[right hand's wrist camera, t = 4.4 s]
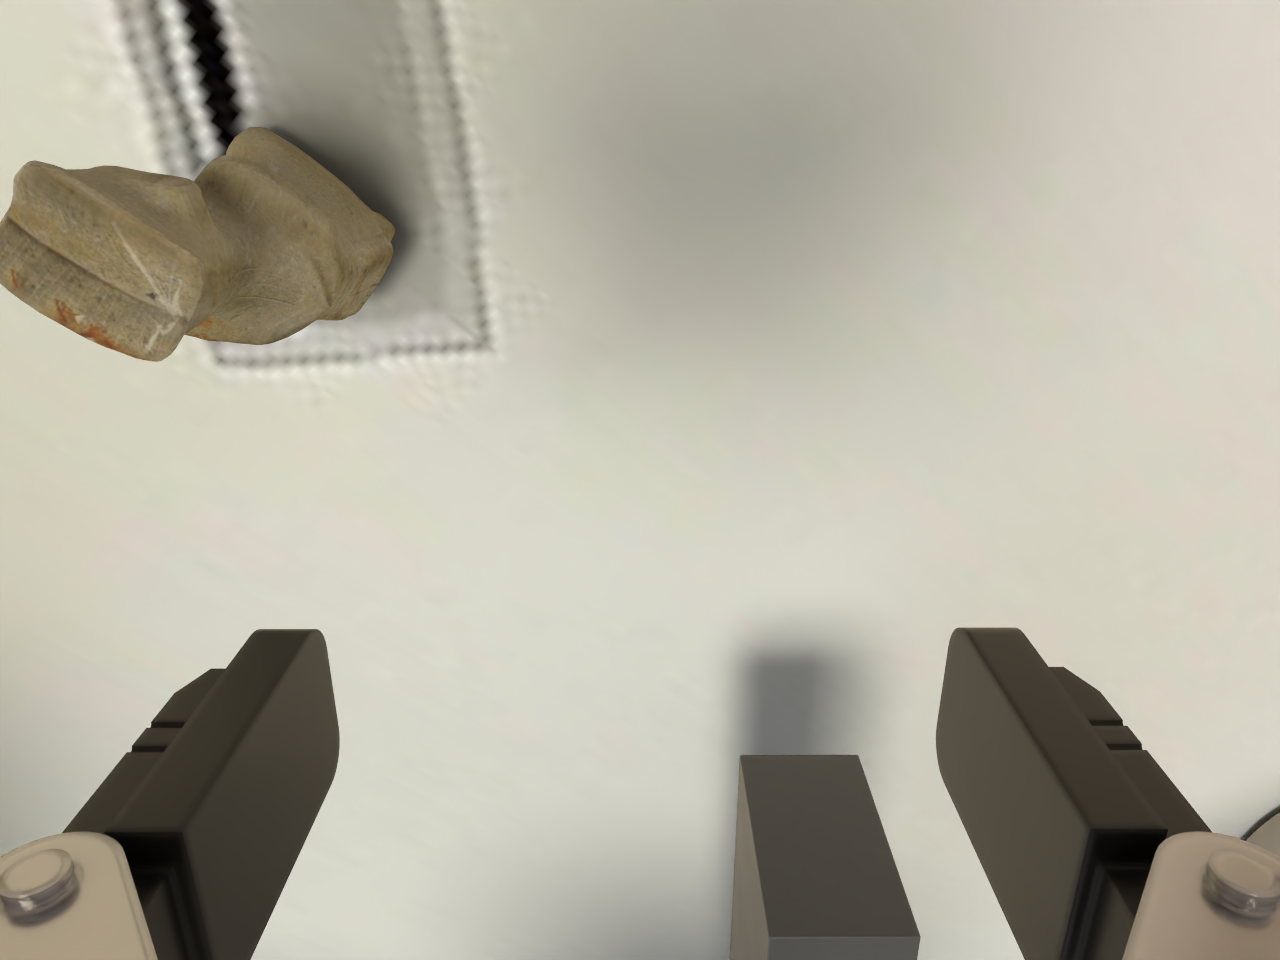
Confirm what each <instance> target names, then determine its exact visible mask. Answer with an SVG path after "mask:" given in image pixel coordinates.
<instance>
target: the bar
mask: <svg viewBox="0 0 1280 960" xmlns="http://www.w3.org/2000/svg"><path fill="white" fill-rule="evenodd" d="M919 942H920V934H919V931H918V928H917V926H916V923H915V920H914V917H913V914H912V911H911V908H910V905H909V902H908V899H907V896H906V893H905V891H904V888H903V885H902V882H901V879H900V876H899V873H898V870H897V867H896V864H895V861H894V859H893V856H892V853H891V850H890V847H889V844H888V841H887V838H886V835H885V832H884V829H883V826H882V824H881V821H880V818H879V815H878V812H877V809H876V806H875V803H874V800H873V797H872V794H871V791H870V789H869V786H868V783H867V780H866V777H865V774H864V771H863V768H862V765H861V762H860V759H859V756H858V755H740V765H739V785H738V805H737V825H736V845H735V864H734V884H733V904H732V924H731V944H730V960H917V955H918V949H919Z"/></svg>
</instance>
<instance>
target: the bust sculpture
mask: <svg viewBox="0 0 1280 960" xmlns="http://www.w3.org/2000/svg"><path fill="white" fill-rule="evenodd" d="M1246 841H1247V842H1250V843H1252V844H1254V845H1257V846H1259V847H1261V848H1264V849H1266V850H1267V851H1269V852H1271V853H1273V854H1275V855H1277V856H1279V857H1280V813H1278V814H1277V815H1275V816H1274V817H1272V818H1271V819H1269V820H1268V821H1267V822H1266V823H1264V824H1263V825H1262V826H1261V827H1259V828H1258V829H1257V830H1256V831H1255V832H1254V833H1253V834H1252V835H1251V836H1250V837H1249V838H1248V839H1247V840H1246Z"/></svg>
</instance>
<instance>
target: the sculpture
mask: <svg viewBox="0 0 1280 960" xmlns="http://www.w3.org/2000/svg"><path fill="white" fill-rule="evenodd" d="M394 234H395V228H394V226H393V225H392V224H391V223H390V222H389V221H388V220H387V219H386V218H385V217H384V216H382V215H381V214H379V213H376V212H373V211H372V210H371V209H370V208H369V207H367V206H366V205H365V204H364V203H363V202H362V201H361V200H360V199H359V198H358V197H357V196H356V195H355V194H354V193H353V192H352V190H351V189H350V188H349V187H348V186H346V185H345V184H344V183H343V182H342V181H340V180H339V179H338V178H337V177H335V176H334V175H333V174H332V173H330V172H329V171H328V170H327V169H325V168H324V167H323V166H321V165H320V164H319V163H318V162H316V161H315V160H314V159H312V158H311V157H310V156H309V155H307V154H306V153H304V152H303V151H302V150H300V149H299V148H298V147H296V146H294V145H293V144H291V143H290V142H288V141H286V140H285V139H283V138H281V137H280V136H278V135H277V134H275V133H273V132H271V131H270V130H268V129H266V128H262V127H250V128H248V129H246V130H244V131H242V132H241V133H240V134H238V135H237V136H236V137H235V138H234V140H233V141H232V142H231V144H230V145H229V147H228V150H227V152H226V155H223V156H220V157H218V158H216V159H214V160H213V161H212V162H211V163H209V164H208V165H207V166H206V167H205V168H204V169H203V171H202V172H201V173H200V174H199V176H198V177H197V178H196V179H195V181H191V180H189V179H187V178H182V177H176V176H170V175H163V174H156V173H149V172H143V171H138V170H133V169H128V168H123V167H118V166H99V167H94V168H91V169H82V170H65V169H63V168H60V167H58V166H55V165H51V164H47V163H43V162H39V161H30V162H28V163H26V164H25V165H24V166H23V167H22V168H21V169H20V170H19V172H18V173H17V174H16V175H15V178H14V187H13V198H12V202H11V206H10V208H9V209H8V211H7V213H6V214H5V216H4V217H3V219H2V221H1V222H0V284H2V285H3V286H4V287H5V288H6V289H7V290H9V291H10V292H11V293H12V294H14V295H15V296H17V297H18V298H19V299H21V300H22V301H23V302H25V303H26V304H28V305H29V306H31V307H32V308H34V309H35V310H37V311H38V312H40V313H41V314H43V315H45V316H47V317H49V318H50V319H52V320H54V321H56V322H58V323H59V324H61V325H63V326H65V327H67V328H68V329H70V330H72V331H74V332H75V333H77V334H79V335H81V336H83V337H85V338H87V339H88V340H91V341H93V342H95V343H97V344H100V345H102V346H104V347H107V348H110V349H113V350H116V351H118V352H121V353H124V354H126V355H129V356H132V357H134V358H138V359H143V360H148V361H156V362H157V361H162V360H163V359H165V358H166V357H168V356H169V355H171V353H172V352H173V351H174V350H175V349H176V347H177V345H178V343H179V342H180V340H181V339H182V337H183V335H188V336H193V337H197V338H200V339H204V340H208V341H224V342H233V343H242V344H254V345H263V344H270V343H273V342H276V341H279V340H281V339H284V338H287V337H289V336H291V335H293V334H294V333H296V332H298V331H300V330H302V329H303V328H305V327H306V326H308V325H309V324H311V323H312V322H314V321H315V320H342V319H345V318H347V317H348V316H351V315H354V314H356V313H357V312H358V311H359V310H360V309H361V307H362V306H363V305H364V304H365V302H366V301H367V300H368V298H369V297H370V295H371V294H372V293H373V291H374V290H375V288H376V287H377V285H378V283H379V282H380V280H381V279H382V277H383V275H384V273H385V271H386V270H387V268H388V266H389V264H390V262H391V259H392V256H393V246H392V244H391V240H392V238H393V236H394Z"/></svg>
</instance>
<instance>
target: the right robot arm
mask: <svg viewBox="0 0 1280 960" xmlns="http://www.w3.org/2000/svg"><path fill="white" fill-rule="evenodd" d="M936 749H937V758H938V764H939V768H940V772H941V776H942V778H943V781H944V783H945V786H946V788H947V790H948V792H949V794H950V796H951V799H952V801H953V803H954V805H955V807H956V810H957V812H958V814H959V816H960V818H961V821H962V823H963V825H964V827H965V829H966V832H967V834H968V836H969V838H970V840H971V843H972V845H973V847H974V849H975V851H976V853H977V856H978V858H979V860H980V862H981V864H982V867H983V869H984V871H985V873H986V875H987V878H988V880H989V882H990V884H991V886H992V889H993V891H994V893H995V895H996V897H997V900H998V902H999V904H1000V906H1001V908H1002V910H1003V913H1004V915H1005V917H1006V919H1007V921H1008V924H1009V926H1010V928H1011V930H1012V932H1013V935H1014V937H1015V939H1016V941H1017V943H1018V946H1019V948H1020V950H1021V952H1022V954H1023V957H1024V959H1025V960H1280V857H1279V856H1277V855H1275V854H1273V853H1271V852H1269V851H1267V850H1266V849H1264V848H1261V847H1259V846H1257V845H1254V844H1252V843H1250V842H1247V841H1244V840H1241V839H1238V838H1235V837H1231V836H1227V835H1223V834H1218V833H1212V831H1211V830H1210V829H1209V828H1208V826H1207V825H1206V824H1205V823H1204V821H1203V820H1202V819H1201V818H1200V816H1199V815H1198V814H1197V813H1196V811H1195V810H1194V809H1193V808H1192V806H1191V805H1190V804H1189V803H1188V801H1187V800H1186V799H1185V798H1184V796H1183V795H1182V794H1181V793H1180V791H1179V790H1178V789H1177V788H1176V786H1175V785H1174V784H1173V783H1172V781H1171V780H1170V779H1169V778H1168V776H1167V775H1166V774H1165V773H1164V771H1163V770H1162V769H1161V768H1160V766H1159V765H1158V764H1157V763H1156V761H1155V760H1154V759H1153V758H1152V756H1151V755H1150V754H1149V753H1148V751H1147V750H1142V744H1141V742H1140V741H1139V740H1138V739H1137V737H1136V736H1135V735H1134V734H1133V732H1132V731H1131V730H1130V729H1129V727H1128V726H1123V720H1122V719H1121V717H1120V716H1119V715H1118V714H1117V712H1116V711H1115V710H1114V709H1113V707H1112V706H1111V705H1110V704H1109V702H1108V701H1107V700H1106V699H1105V697H1104V696H1103V695H1102V694H1101V692H1100V691H1098V690H1097V689H1095V688H1094V687H1092V686H1091V685H1089V684H1088V683H1086V682H1085V681H1083V680H1082V679H1080V678H1079V677H1078V676H1076V675H1075V674H1073V673H1072V672H1070V671H1069V670H1067V669H1066V668H1064V667H1048V666H1047V664H1046V663H1045V662H1044V660H1043V659H1042V658H1041V656H1040V655H1039V654H1038V652H1037V651H1036V649H1035V648H1034V647H1033V645H1032V644H1031V643H1030V641H1029V640H1028V639H1027V637H1026V636H1025V635H1024V633H1023V632H1022V631H1021V630H1019V629H1018V628H957V629H955V630H954V632H953V633H952V635H951V638H950V642H949V647H948V654H947V660H946V667H945V674H944V681H943V688H942V694H941V701H940V708H939V715H938V722H937V730H936ZM338 756H339V727H338V720H337V713H336V707H335V700H334V693H333V687H332V680H331V673H330V666H329V660H328V653H327V647H326V642H325V639H324V636H323V634H322V633H321V631H319V630H317V629H259V630H256V631H255V632H254V633H253V634H252V635H251V636H250V637H249V639H248V640H247V641H246V643H245V644H244V645H243V647H242V648H241V649H240V651H239V652H238V653H237V655H236V656H235V657H234V659H233V660H232V661H231V663H230V664H229V665H228V667H227V668H226V669H210V670H209V671H207V672H206V673H204V674H203V675H201V676H200V677H198V678H197V679H195V680H194V681H192V682H191V683H189V684H188V685H186V686H185V687H183V688H182V689H180V690H179V691H177V692H176V693H174V695H173V696H172V697H171V698H170V700H169V701H168V702H167V703H166V705H165V706H164V707H163V708H162V710H161V711H160V712H159V713H158V715H157V716H156V717H155V718H154V719H153V721H152V722H151V728H146V729H145V731H144V732H143V733H142V734H141V736H140V737H139V738H138V739H137V741H136V742H135V743H134V744H133V746H132V751H131V752H127V753H126V754H125V755H124V757H123V758H122V759H121V760H120V762H119V763H118V764H117V765H116V767H115V768H114V769H113V770H112V772H111V773H110V774H109V775H108V777H107V778H106V779H105V780H104V782H103V783H102V784H101V785H100V786H99V788H98V789H97V790H96V791H95V793H94V794H93V795H92V796H91V798H90V799H89V800H88V801H87V803H86V804H85V805H84V806H83V808H82V809H81V810H80V811H79V813H78V814H77V815H76V816H75V818H74V819H73V820H72V821H71V822H70V824H69V825H68V826H67V827H66V829H65V830H64V831H63V832H62V834H57V835H53V836H49V837H45V838H42V839H39V840H36V841H33V842H30V843H28V844H26V845H23V846H21V847H19V848H16V849H14V850H13V851H11V852H9V853H7V854H5V855H3V856H1V857H0V960H250V959H251V957H252V955H253V953H254V951H255V948H256V946H257V944H258V942H259V940H260V938H261V935H262V933H263V931H264V929H265V927H266V925H267V922H268V920H269V918H270V916H271V914H272V912H273V909H274V907H275V905H276V903H277V901H278V899H279V896H280V894H281V892H282V890H283V888H284V886H285V884H286V881H287V879H288V877H289V875H290V873H291V871H292V868H293V866H294V864H295V862H296V860H297V858H298V855H299V853H300V851H301V849H302V847H303V845H304V842H305V840H306V838H307V836H308V834H309V832H310V829H311V827H312V825H313V823H314V821H315V819H316V816H317V814H318V812H319V810H320V808H321V806H322V803H323V801H324V799H325V797H326V795H327V793H328V790H329V788H330V786H331V784H332V781H333V779H334V776H335V772H336V768H337V763H338Z"/></svg>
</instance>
